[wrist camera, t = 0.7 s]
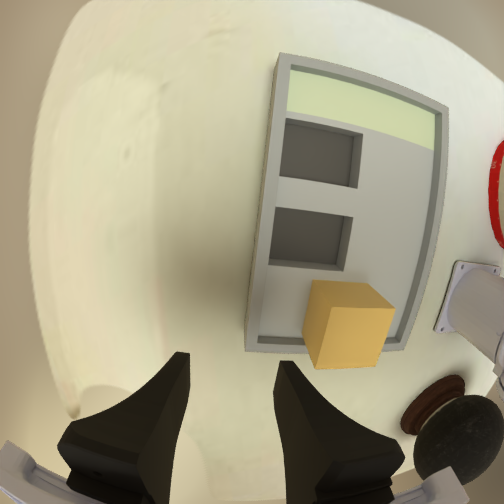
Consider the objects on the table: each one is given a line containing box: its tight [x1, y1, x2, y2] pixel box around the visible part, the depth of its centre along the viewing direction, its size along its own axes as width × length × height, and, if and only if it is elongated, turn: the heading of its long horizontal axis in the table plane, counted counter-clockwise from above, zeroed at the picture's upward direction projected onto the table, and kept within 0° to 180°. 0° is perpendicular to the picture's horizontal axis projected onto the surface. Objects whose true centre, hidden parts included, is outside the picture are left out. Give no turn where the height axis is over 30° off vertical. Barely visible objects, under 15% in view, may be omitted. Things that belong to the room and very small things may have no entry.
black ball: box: [400, 375, 504, 485], centre depth 20 cm, size 13×13×15 cm
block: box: [301, 279, 396, 369], centre depth 18 cm, size 4×4×4 cm
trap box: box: [244, 52, 449, 354], centre depth 19 cm, size 14×21×3 cm, turn 174°
